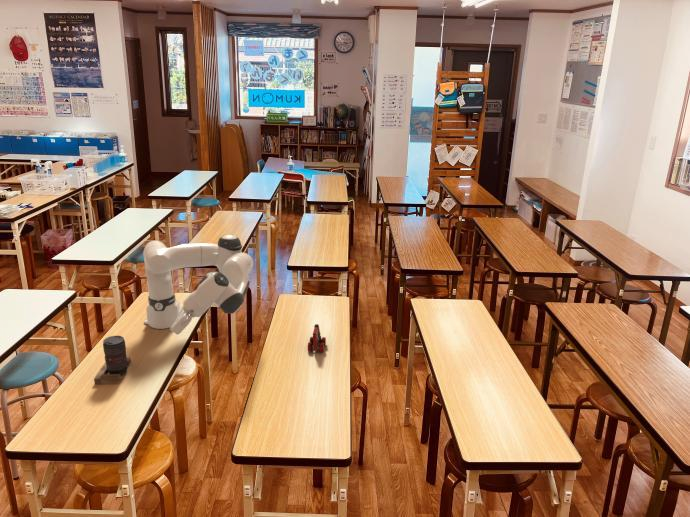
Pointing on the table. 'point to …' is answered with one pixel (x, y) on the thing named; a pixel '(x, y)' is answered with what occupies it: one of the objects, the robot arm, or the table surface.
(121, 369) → the camera lens
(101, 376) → the lens cradle
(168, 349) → the table surface
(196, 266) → the robot arm
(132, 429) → the table surface
